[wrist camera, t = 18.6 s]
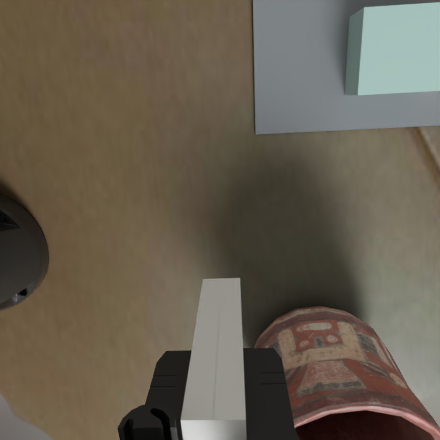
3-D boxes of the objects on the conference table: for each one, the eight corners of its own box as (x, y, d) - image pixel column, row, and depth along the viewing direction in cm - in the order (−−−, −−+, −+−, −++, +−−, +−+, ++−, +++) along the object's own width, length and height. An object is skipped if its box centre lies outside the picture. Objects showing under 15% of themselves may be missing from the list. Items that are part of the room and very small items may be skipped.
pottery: (404, 355, 47) (500, 502, 30) (295, 416, 51) (325, 575, 34) (328, 260, 43) (390, 368, 26) (217, 335, 47) (207, 470, 30)
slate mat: (255, 134, 38) (255, 134, 38) (251, -44, 33) (252, -46, 32) (447, 124, 37) (449, 124, 37) (476, -61, 32) (479, -63, 31)
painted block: (357, 95, 32) (459, 89, 32) (364, 7, 30) (474, -1, 29) (344, 95, 36) (435, 89, 35) (349, 16, 34) (447, 10, 33)
